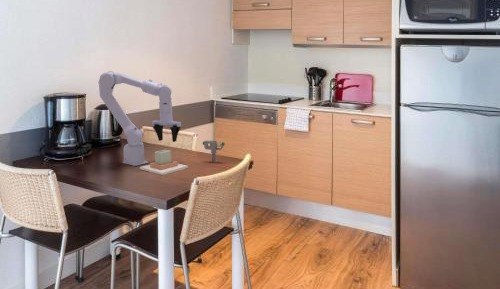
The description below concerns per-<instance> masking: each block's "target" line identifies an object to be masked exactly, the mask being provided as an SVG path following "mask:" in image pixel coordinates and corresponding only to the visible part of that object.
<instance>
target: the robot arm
mask: <svg viewBox="0 0 500 289" xmlns="http://www.w3.org/2000/svg"><path fill="white" fill-rule="evenodd" d="M120 84H125V85H129V86H133V87H136V88H139V89H141V92H143V93H146V94H149V95H152V96H155V97H159V102H158V105H159V120H155V119H154V120H151V123H152V128H153V130H154V132H155V134H156V136H157V139H158V142H161V141H163V136H164V135H163V130H164V126H165V127H166V126H167V127H169V126H170V132H171V140H172V143H175V142H177V140H178V139H177V138H178V135H179V132H180V130H181V127H182V122H181V121H175V120H174V119H173V117H174V116H173V102H172V97H171V96H172V88H171V87H169V86H168V85H167V84H164V85H163V83H162V82H161V83H157V82H155V81H153V79H146V80H144V81H143V80H140V79H137V78H135V77H132V76H129V75H126V74H125V73H119V72H114V71H111V70H110V71H107V72H103V73H102V74H100V76H99V79H98V87H99V89H98V90H99V97H100V99H101V100H102V102H103V103H104V104H105V106H106V107H107V109H108V110H109V112H110V114H112V116H113V117H114V118H115V120H116V122H117V123H118V124H119V126H120V127H121V128H122V130H123V133H124V135H125V137H126V141H127V143H126V144H125V145H124V146H123V149H122V150H123V161H122V163H123V164H126V165H130V166H133V167H135V166H136V167H137V166H141V165H144V164H148V163H149V161H147V160H145V149H144V148H145V146H144V142H143V141H142V140H143V138H144V133H143V131H142V130H141V129H139V128H138V127H137V126H136V125H135V123H133V122H132V121H131V119H130V118H129V116H128V115H127V114H126V112H125V111H124V109H123V108H122V107H121V105H120V104H119V102H118V101H117V99H116V98H115V96H114V95H113V92H114V88H115V86H116V85H120Z"/></svg>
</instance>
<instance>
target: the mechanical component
mask: <svg viewBox="0 0 500 289" xmlns="http://www.w3.org/2000/svg"><path fill="white" fill-rule="evenodd" d="M202 145H203V146H204V149H205V150H206V151H207V150H210V154H211V162H212V163H216V153H217V151H221V150H222V149H223V148H224V146H225V141H221V142H220V143H219V144H218V141H217V140H203V141H202Z"/></svg>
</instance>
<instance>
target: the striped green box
mask: <svg viewBox="0 0 500 289" xmlns="http://www.w3.org/2000/svg"><path fill="white" fill-rule="evenodd" d="M171 160H172V150H169V149H162V150H157V151H154V162H155V164H159V165H164V164H168V163H172V162H171Z"/></svg>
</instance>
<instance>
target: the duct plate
mask: <svg viewBox="0 0 500 289" xmlns="http://www.w3.org/2000/svg"><path fill="white" fill-rule="evenodd" d="M171 162H172V163H168V164H164V165H159V164H155V161H154V162H150V163H149V164H146V165H142V166H140V167H139V169H140V170H142V171H147V172H150V173H152V174H157V175H161V176H164V175H168V174H172V173H175V172H179V171H182V170H185V169H188V168H189V166H188V165H185V164H181V163H179V162H178V161H176V160H172V159H171Z"/></svg>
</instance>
